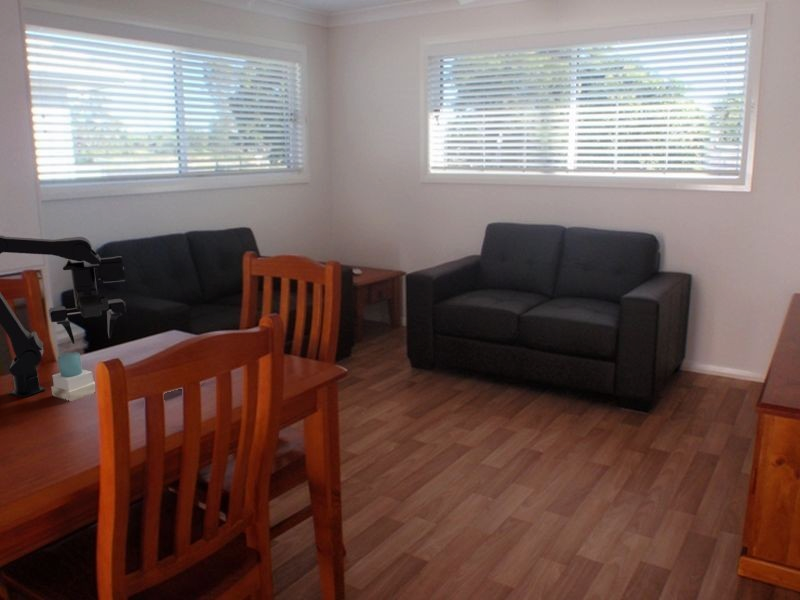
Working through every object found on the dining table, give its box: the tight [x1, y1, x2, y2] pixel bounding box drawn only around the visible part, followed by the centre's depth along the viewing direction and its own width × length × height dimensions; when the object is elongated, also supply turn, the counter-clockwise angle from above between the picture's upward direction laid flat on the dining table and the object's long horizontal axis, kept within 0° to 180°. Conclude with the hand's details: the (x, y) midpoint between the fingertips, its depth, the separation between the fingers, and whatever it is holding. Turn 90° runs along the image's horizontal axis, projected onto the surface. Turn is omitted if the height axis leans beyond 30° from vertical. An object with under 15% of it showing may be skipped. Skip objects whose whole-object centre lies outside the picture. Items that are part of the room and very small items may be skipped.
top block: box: [51, 368, 95, 391], centre depth 186 cm, size 7×7×3 cm
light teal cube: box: [57, 352, 83, 377], centre depth 185 cm, size 5×5×5 cm
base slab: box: [51, 381, 96, 402], centre depth 187 cm, size 8×8×3 cm
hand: (91, 340), depth 192 cm, fingers open, 9 cm apart
